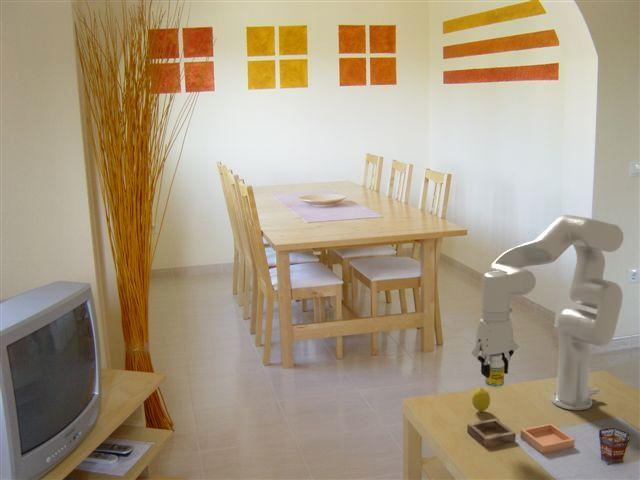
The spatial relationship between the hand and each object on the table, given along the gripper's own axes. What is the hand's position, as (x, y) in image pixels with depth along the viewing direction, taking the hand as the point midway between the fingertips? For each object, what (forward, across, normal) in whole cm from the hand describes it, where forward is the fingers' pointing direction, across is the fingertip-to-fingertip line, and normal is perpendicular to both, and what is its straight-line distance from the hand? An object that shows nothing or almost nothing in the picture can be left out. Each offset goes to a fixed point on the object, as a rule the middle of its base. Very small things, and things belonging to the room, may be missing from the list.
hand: (494, 373), depth 202 cm
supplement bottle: (+4, 0, 0) cm, 4 cm away
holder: (+20, +1, 0) cm, 20 cm away
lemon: (+20, -5, -15) cm, 25 cm away
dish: (+20, -12, +9) cm, 25 cm away
